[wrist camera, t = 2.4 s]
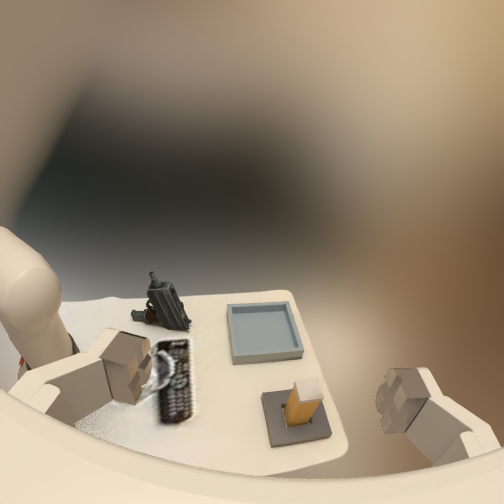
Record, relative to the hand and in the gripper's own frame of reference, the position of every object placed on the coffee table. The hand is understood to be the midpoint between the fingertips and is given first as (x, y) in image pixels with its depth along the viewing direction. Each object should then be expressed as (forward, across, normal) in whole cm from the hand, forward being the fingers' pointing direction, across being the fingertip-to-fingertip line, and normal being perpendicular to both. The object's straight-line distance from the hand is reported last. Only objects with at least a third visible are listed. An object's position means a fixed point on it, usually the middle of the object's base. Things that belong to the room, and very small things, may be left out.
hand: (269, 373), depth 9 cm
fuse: (+33, +11, -42) cm, 55 cm away
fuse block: (+33, +11, -42) cm, 55 cm away
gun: (+53, -24, -38) cm, 69 cm away
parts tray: (+54, +2, -36) cm, 65 cm away
